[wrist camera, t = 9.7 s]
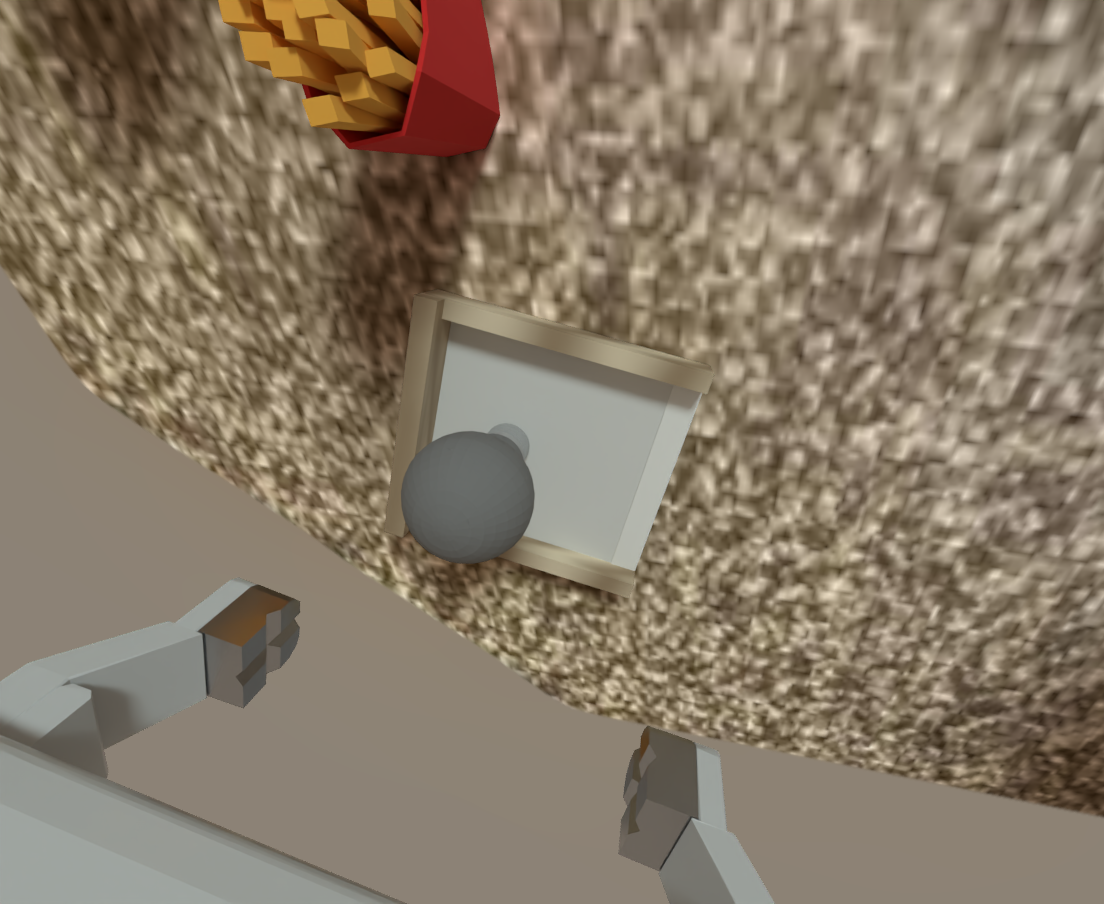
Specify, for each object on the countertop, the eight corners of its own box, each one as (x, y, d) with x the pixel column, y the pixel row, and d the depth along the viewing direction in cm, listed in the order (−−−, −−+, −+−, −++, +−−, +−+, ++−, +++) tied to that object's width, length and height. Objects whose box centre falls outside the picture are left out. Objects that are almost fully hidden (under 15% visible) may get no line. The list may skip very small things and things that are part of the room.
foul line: (710, 365, 27) (711, 368, 26) (630, 578, 33) (629, 583, 32) (682, 357, 27) (682, 360, 27) (607, 571, 33) (606, 576, 32)
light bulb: (505, 369, 29) (432, 431, 19) (582, 445, 29) (547, 539, 20) (440, 438, 31) (348, 522, 22) (513, 507, 32) (453, 615, 23)
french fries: (511, 165, 25) (384, 101, 13) (429, 183, 26) (243, 137, 14) (471, -78, 22) (258, -445, 10) (379, -48, 23) (88, -352, 11)
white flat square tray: (710, 365, 27) (711, 367, 27) (630, 578, 33) (630, 583, 32) (437, 289, 28) (433, 290, 28) (405, 507, 34) (402, 511, 33)
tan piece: (710, 365, 27) (716, 380, 24) (630, 578, 33) (628, 609, 30) (437, 289, 28) (413, 294, 25) (405, 507, 34) (384, 531, 31)
